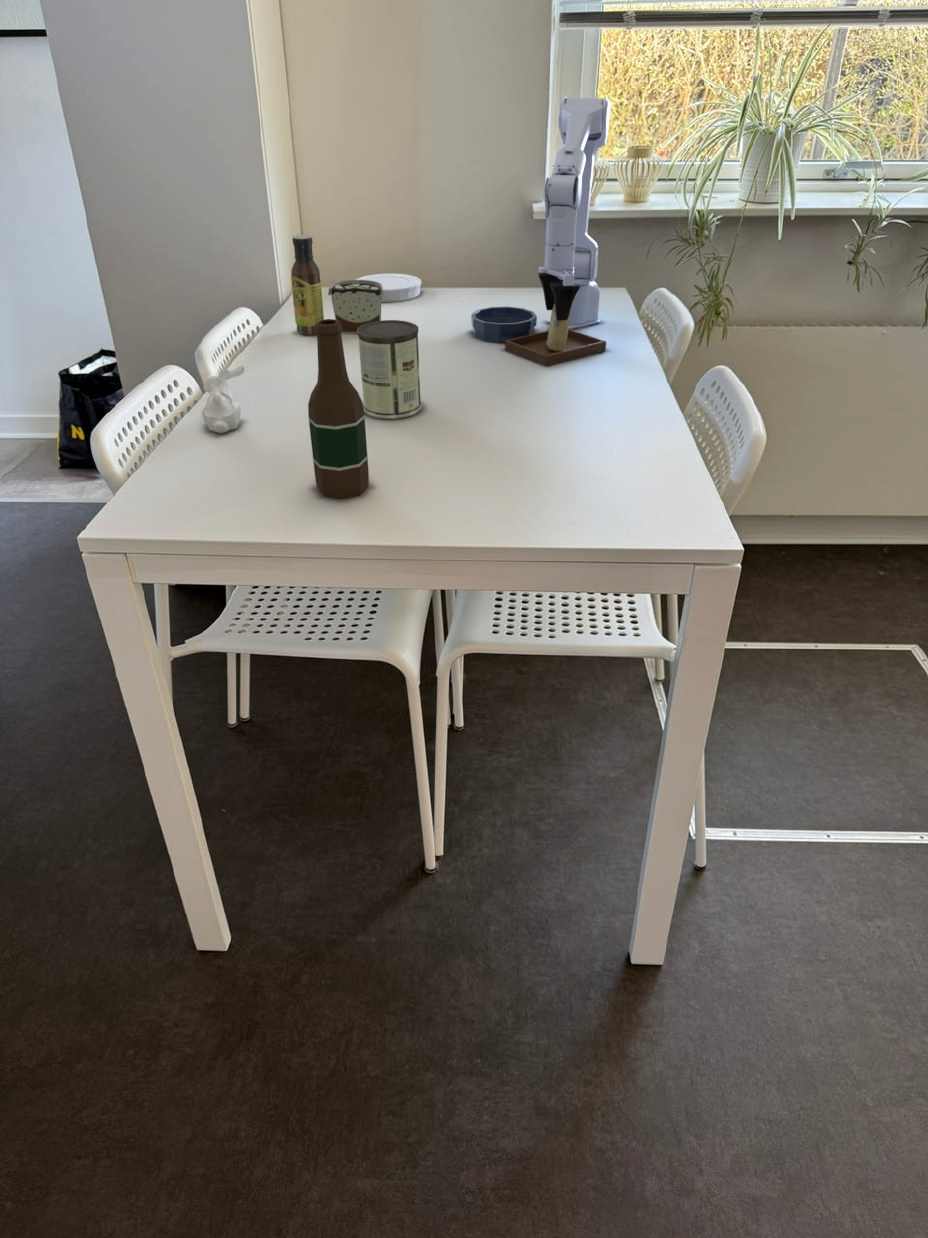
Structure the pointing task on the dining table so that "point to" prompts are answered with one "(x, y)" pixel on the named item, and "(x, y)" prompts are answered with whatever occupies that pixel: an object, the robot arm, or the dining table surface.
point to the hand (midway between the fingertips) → (556, 314)
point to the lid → (396, 286)
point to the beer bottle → (336, 420)
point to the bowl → (502, 323)
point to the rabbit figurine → (221, 402)
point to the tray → (540, 353)
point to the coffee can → (389, 368)
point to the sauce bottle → (306, 286)
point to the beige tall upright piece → (557, 332)
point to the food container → (356, 303)
